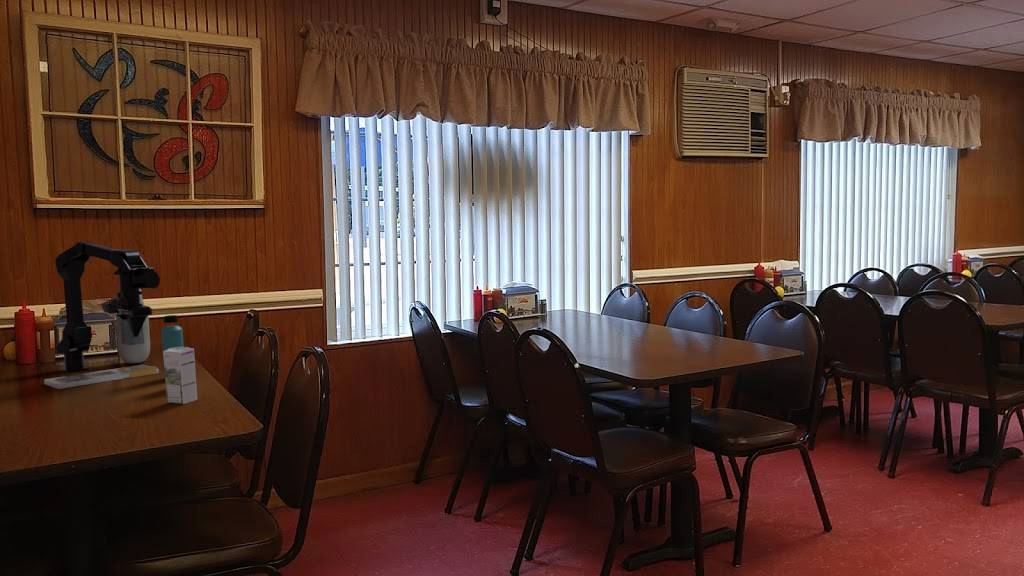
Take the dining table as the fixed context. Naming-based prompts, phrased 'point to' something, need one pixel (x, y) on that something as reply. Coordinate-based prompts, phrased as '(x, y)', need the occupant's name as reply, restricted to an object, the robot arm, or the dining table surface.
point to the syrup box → (180, 375)
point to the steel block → (130, 334)
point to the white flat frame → (101, 376)
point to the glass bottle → (134, 352)
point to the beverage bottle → (171, 334)
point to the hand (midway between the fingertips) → (132, 336)
